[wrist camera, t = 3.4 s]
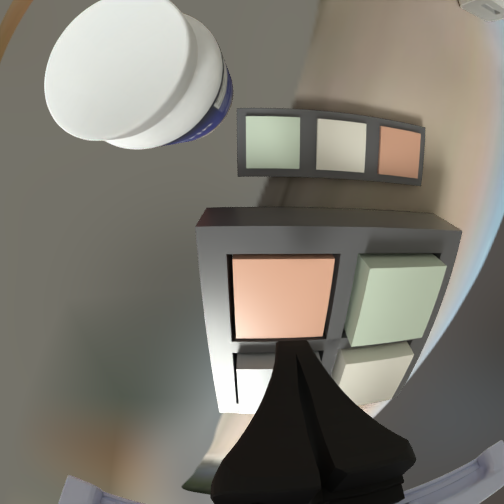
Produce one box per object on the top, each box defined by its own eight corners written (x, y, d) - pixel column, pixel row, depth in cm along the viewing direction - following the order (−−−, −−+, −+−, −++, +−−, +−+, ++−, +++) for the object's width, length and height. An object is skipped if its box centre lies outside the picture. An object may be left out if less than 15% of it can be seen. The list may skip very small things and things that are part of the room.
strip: (420, 127, 14) (426, 127, 14) (416, 184, 16) (422, 186, 15) (237, 109, 14) (236, 108, 14) (238, 175, 16) (237, 177, 15)
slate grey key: (305, 383, 21) (310, 411, 18) (240, 384, 21) (239, 413, 18) (314, 336, 19) (322, 366, 16) (238, 338, 19) (236, 369, 16)
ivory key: (380, 374, 21) (391, 399, 18) (324, 381, 21) (330, 409, 18) (399, 328, 19) (414, 354, 16) (335, 335, 19) (345, 364, 16)
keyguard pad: (385, 370, 23) (397, 397, 20) (222, 381, 24) (219, 412, 20) (433, 213, 17) (462, 230, 14) (206, 207, 17) (195, 226, 14)
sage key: (404, 312, 18) (421, 337, 15) (339, 317, 18) (351, 346, 15) (423, 245, 16) (446, 266, 13) (352, 245, 16) (369, 268, 13)
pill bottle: (144, 147, 15) (35, 175, 6) (141, 62, 13) (39, 16, 4) (236, 138, 15) (213, 143, 6) (233, 49, 13) (209, -42, 4)
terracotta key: (314, 308, 19) (322, 336, 17) (238, 310, 19) (236, 338, 17) (322, 238, 17) (335, 258, 14) (235, 238, 17) (232, 259, 14)
